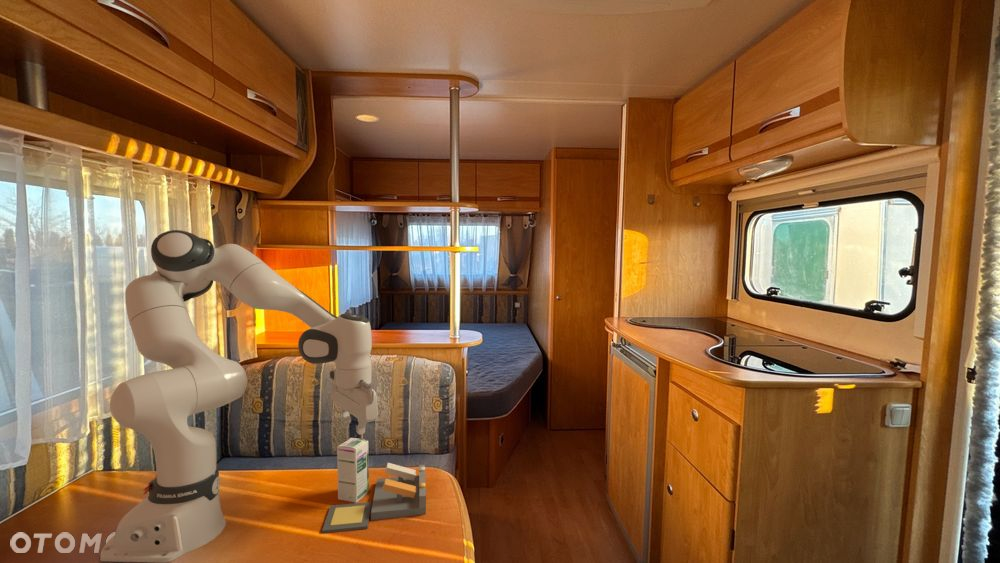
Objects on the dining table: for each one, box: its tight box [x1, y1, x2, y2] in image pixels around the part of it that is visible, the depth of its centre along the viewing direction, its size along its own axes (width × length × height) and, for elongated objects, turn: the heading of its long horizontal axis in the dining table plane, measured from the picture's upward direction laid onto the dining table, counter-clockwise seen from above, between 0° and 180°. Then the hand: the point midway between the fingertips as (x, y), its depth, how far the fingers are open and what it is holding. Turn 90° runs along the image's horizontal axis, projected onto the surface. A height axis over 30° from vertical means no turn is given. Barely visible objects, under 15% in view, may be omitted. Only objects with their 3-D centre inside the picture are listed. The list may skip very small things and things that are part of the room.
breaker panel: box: [370, 464, 427, 522], centre depth 113 cm, size 13×16×6 cm
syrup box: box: [336, 437, 370, 504], centre depth 114 cm, size 6×6×14 cm
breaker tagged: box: [383, 479, 416, 498], centre depth 110 cm, size 8×3×2 cm, turn 101°
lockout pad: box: [321, 501, 373, 534], centre depth 105 cm, size 10×10×1 cm
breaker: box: [384, 462, 417, 481], centre depth 118 cm, size 8×3×2 cm, turn 101°
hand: (353, 428), depth 114 cm, fingers open, 7 cm apart
